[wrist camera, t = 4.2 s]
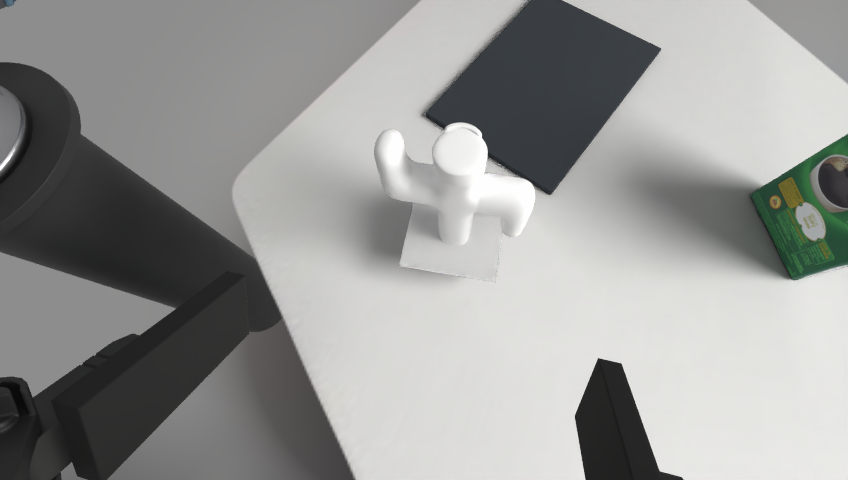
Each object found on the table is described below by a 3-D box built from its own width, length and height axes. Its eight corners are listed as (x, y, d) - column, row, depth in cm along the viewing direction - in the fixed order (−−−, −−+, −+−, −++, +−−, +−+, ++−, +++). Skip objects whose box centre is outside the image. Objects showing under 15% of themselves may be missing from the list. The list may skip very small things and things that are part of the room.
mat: (550, 195, 36) (551, 192, 35) (426, 116, 39) (425, 112, 39) (658, 53, 41) (661, 48, 40) (539, -6, 44) (540, -11, 44)
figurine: (504, 296, 33) (549, 224, 19) (390, 276, 34) (353, 193, 20) (514, 216, 35) (561, 99, 21) (408, 199, 36) (386, 77, 22)
